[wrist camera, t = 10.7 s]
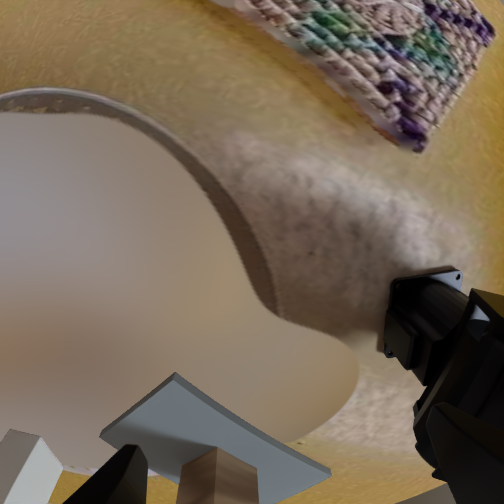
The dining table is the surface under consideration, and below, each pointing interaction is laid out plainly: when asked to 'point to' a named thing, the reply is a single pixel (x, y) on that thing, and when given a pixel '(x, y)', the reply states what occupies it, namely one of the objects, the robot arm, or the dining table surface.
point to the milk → (27, 469)
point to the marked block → (218, 480)
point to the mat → (208, 439)
